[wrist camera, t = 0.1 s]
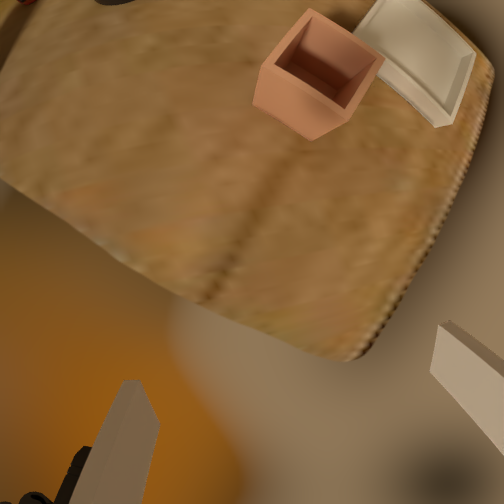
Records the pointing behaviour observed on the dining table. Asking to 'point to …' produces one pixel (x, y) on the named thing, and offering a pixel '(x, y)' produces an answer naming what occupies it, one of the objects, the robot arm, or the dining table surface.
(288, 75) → the box
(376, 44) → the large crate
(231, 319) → the dining table surface
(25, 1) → the canned food
